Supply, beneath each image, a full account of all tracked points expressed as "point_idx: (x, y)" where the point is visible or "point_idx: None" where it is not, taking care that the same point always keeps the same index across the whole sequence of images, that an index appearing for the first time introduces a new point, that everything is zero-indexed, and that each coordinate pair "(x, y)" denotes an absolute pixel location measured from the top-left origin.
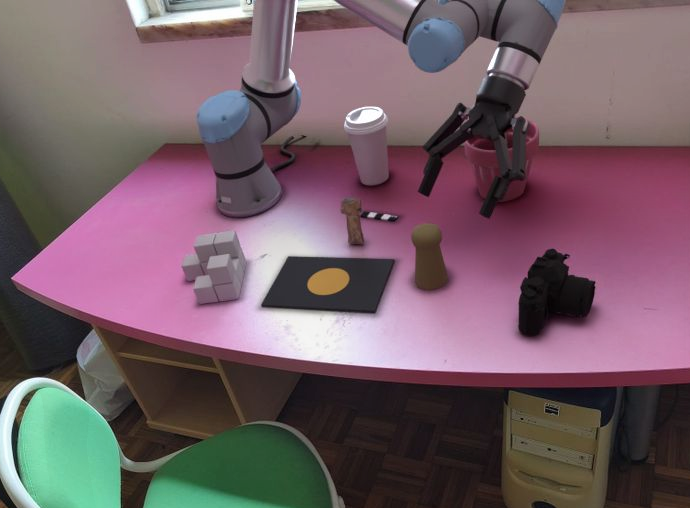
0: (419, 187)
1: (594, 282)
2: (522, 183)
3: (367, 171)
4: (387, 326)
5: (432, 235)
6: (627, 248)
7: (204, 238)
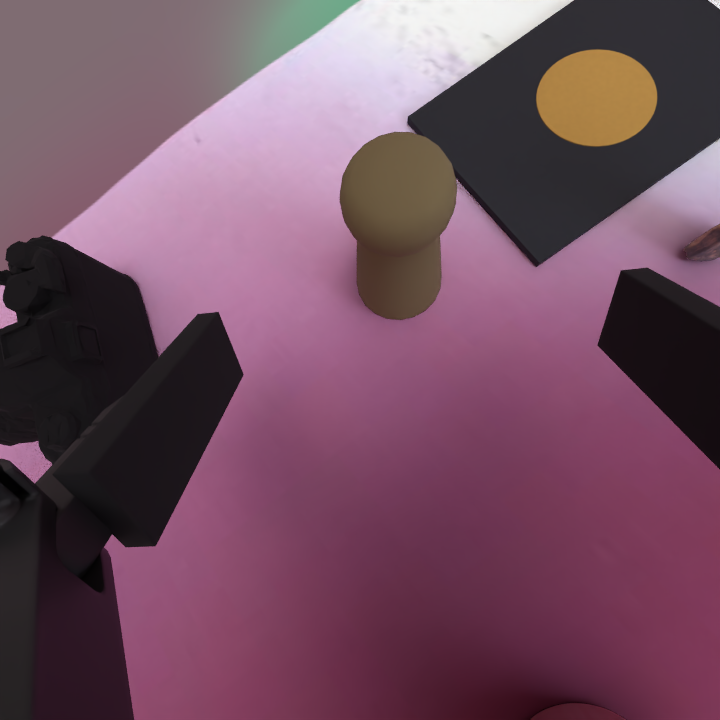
0: (664, 278)
1: None
2: None
3: None
4: (353, 119)
5: (347, 170)
6: None
7: None
